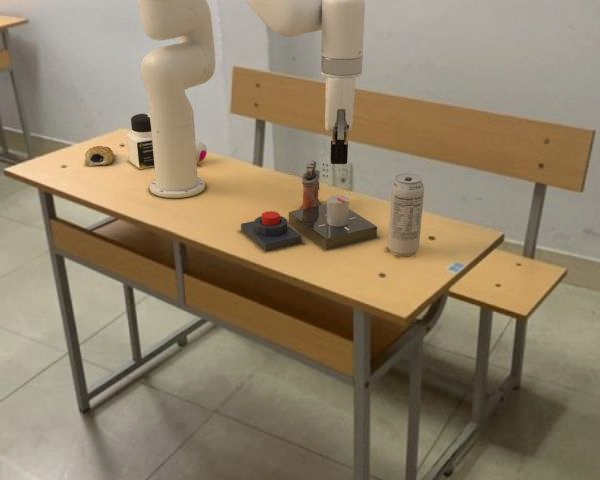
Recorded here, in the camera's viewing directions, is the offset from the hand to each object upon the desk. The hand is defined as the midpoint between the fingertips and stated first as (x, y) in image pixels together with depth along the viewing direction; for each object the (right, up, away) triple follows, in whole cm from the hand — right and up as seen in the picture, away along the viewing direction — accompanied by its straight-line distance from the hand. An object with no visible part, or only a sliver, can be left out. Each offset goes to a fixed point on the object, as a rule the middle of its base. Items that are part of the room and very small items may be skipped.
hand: (338, 162), depth 150 cm
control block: (-13, -14, +6) cm, 20 cm away
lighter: (-5, -7, +19) cm, 21 cm away
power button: (-13, -11, +4) cm, 18 cm away
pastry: (-58, +8, +45) cm, 74 cm away
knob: (0, -11, +6) cm, 13 cm away
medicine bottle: (-46, +7, +44) cm, 64 cm away
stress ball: (-34, +7, +44) cm, 56 cm away
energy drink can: (+13, -17, +1) cm, 21 cm away
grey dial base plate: (-1, -12, +9) cm, 15 cm away
